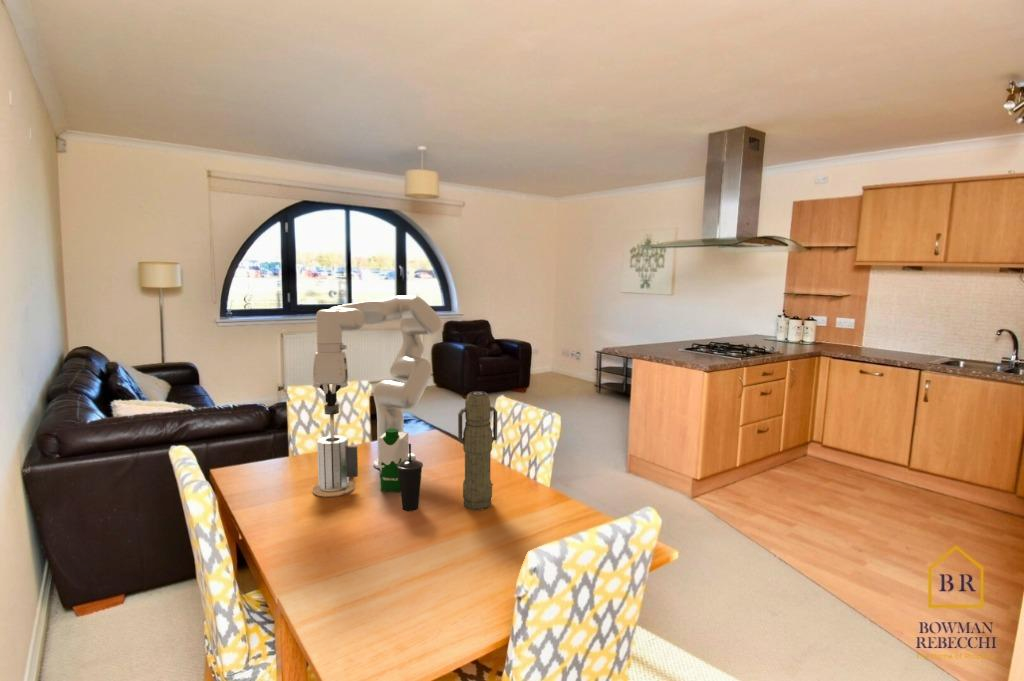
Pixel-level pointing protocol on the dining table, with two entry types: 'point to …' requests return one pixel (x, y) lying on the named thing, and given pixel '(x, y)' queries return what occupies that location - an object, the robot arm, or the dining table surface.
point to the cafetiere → (335, 466)
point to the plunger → (332, 417)
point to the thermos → (477, 449)
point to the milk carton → (392, 458)
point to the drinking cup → (410, 482)
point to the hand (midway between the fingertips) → (331, 404)
